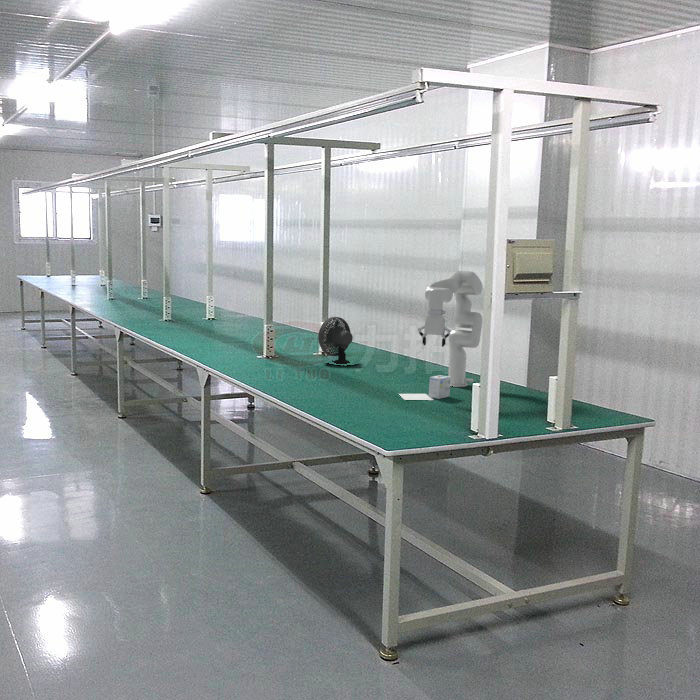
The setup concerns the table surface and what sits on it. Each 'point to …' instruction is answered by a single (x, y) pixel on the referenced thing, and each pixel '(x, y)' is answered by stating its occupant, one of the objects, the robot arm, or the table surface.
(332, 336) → the fan
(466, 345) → the robot arm
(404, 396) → the mat
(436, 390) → the light bulb box
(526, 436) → the table surface
